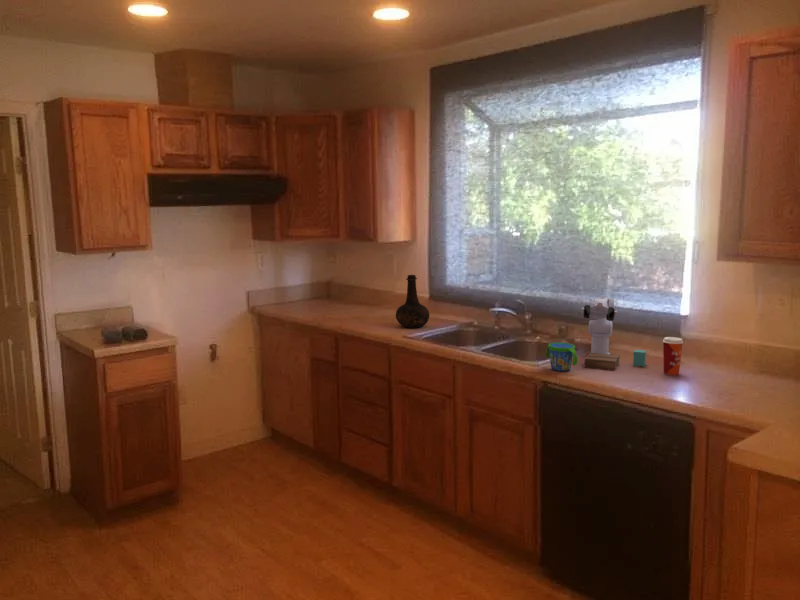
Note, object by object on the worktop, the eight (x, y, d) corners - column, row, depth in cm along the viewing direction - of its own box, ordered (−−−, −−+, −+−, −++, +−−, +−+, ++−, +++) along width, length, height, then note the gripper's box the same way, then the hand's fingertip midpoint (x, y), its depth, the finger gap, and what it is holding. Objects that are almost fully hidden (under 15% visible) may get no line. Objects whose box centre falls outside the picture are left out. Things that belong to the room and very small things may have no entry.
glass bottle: (435, 325, 383) (435, 274, 379) (418, 331, 368) (418, 277, 364) (407, 322, 393) (407, 272, 388) (389, 327, 378) (389, 275, 374)
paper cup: (675, 376, 274) (677, 341, 272) (657, 373, 280) (658, 338, 278) (685, 373, 279) (687, 338, 277) (667, 369, 285) (669, 335, 283)
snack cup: (584, 372, 281) (585, 347, 280) (563, 375, 277) (563, 350, 275) (558, 364, 295) (559, 340, 294) (538, 367, 291) (539, 342, 289)
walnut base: (589, 362, 301) (590, 352, 300) (619, 364, 296) (619, 355, 295) (584, 368, 290) (584, 358, 289) (614, 371, 285) (615, 361, 284)
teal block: (634, 363, 296) (635, 349, 295) (645, 364, 294) (646, 350, 293) (633, 365, 292) (633, 351, 291) (644, 367, 290) (645, 352, 289)
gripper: (583, 298, 303) (580, 305, 291) (618, 302, 298) (616, 308, 286) (582, 314, 305) (578, 321, 292) (617, 318, 300) (615, 325, 287)
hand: (597, 316), depth 289 cm, fingers open, 7 cm apart
